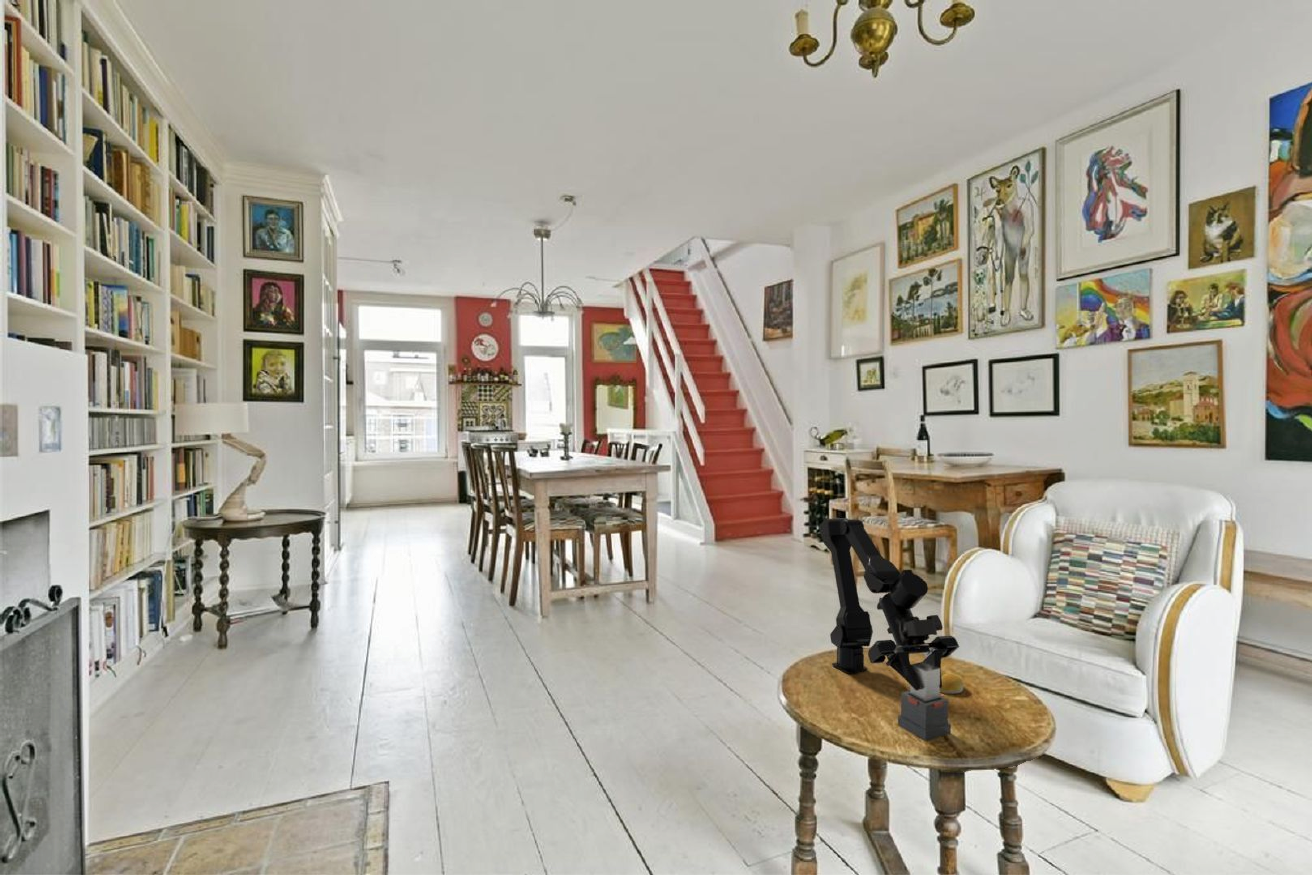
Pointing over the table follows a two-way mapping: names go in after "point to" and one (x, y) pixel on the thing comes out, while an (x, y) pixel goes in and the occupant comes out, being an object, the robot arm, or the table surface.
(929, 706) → the dark grey box
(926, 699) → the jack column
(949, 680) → the bread roll
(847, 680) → the table surface
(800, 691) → the table surface
